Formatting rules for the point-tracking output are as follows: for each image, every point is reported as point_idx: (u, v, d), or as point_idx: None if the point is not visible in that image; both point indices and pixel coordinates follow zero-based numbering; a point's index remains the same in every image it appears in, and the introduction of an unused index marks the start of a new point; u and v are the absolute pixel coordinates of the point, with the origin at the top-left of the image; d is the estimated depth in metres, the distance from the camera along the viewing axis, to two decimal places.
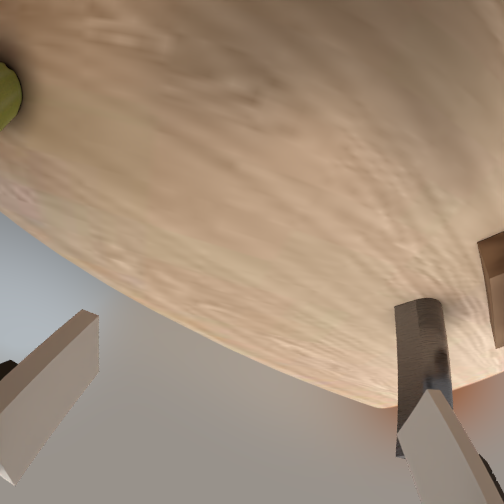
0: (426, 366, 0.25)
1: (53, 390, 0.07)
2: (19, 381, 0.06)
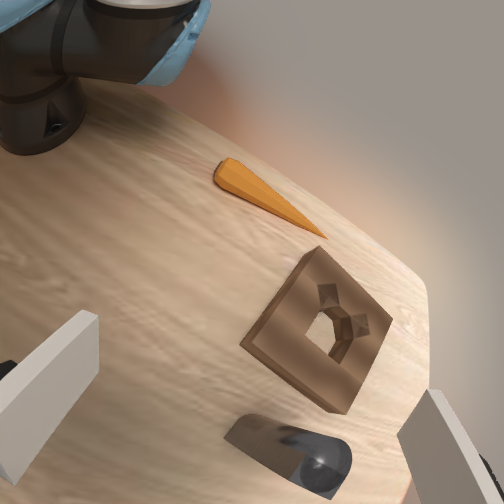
0: (264, 431, 0.27)
1: (53, 390, 0.07)
2: (19, 381, 0.06)
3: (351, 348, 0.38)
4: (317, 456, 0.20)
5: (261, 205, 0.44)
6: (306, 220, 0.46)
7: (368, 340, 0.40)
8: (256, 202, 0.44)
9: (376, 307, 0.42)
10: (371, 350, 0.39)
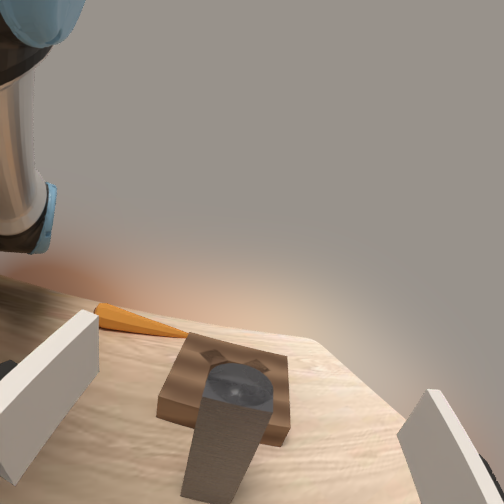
0: None
1: (53, 390, 0.07)
2: (19, 381, 0.06)
3: None
4: (222, 376, 0.22)
5: (136, 330, 0.50)
6: (176, 329, 0.53)
7: (271, 374, 0.43)
8: (132, 328, 0.49)
9: (265, 354, 0.48)
10: (280, 379, 0.42)
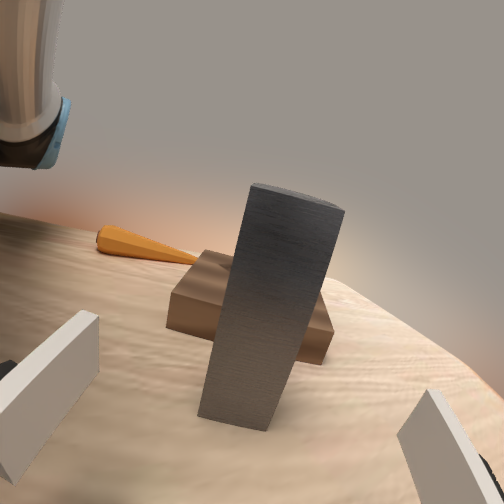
0: None
1: (53, 390, 0.07)
2: (19, 381, 0.06)
3: None
4: (271, 187, 0.18)
5: (145, 253, 0.45)
6: (190, 255, 0.49)
7: None
8: (140, 252, 0.45)
9: None
10: None
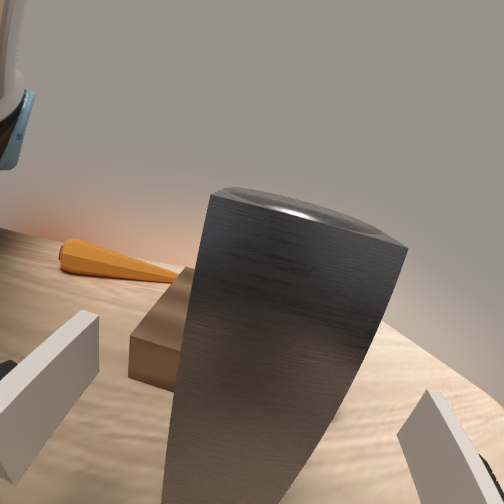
0: None
1: (53, 390, 0.07)
2: (19, 381, 0.06)
3: None
4: (258, 194, 0.10)
5: (117, 272, 0.36)
6: (170, 272, 0.40)
7: None
8: (111, 270, 0.36)
9: None
10: None
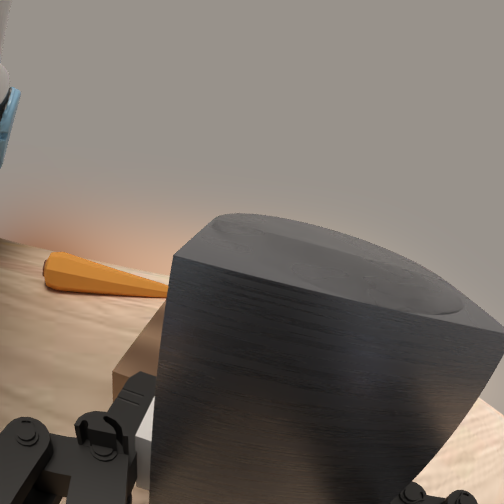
0: None
1: None
2: None
3: None
4: (268, 229, 0.06)
5: (107, 288, 0.32)
6: (165, 285, 0.37)
7: None
8: (100, 286, 0.32)
9: None
10: None
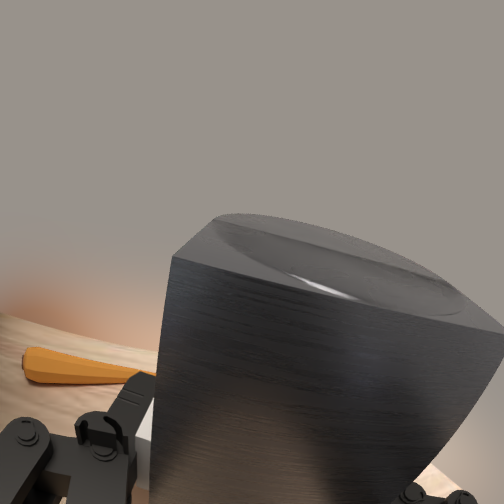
0: None
1: None
2: None
3: None
4: (268, 229, 0.06)
5: (85, 381, 0.30)
6: None
7: None
8: (78, 380, 0.30)
9: None
10: None
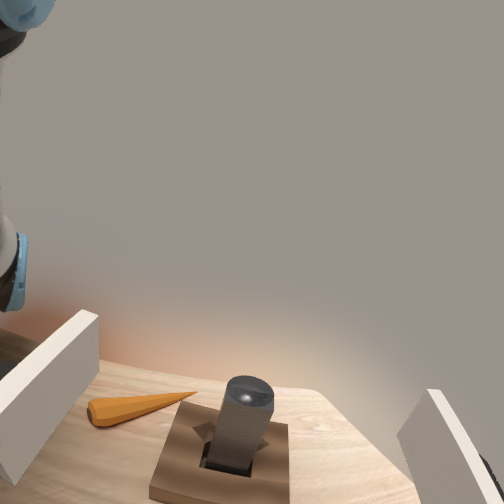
0: None
1: (53, 390, 0.07)
2: (19, 381, 0.06)
3: (256, 460, 0.34)
4: (237, 385, 0.31)
5: (141, 413, 0.40)
6: (174, 394, 0.46)
7: (270, 449, 0.36)
8: (136, 414, 0.39)
9: None
10: (279, 455, 0.35)
